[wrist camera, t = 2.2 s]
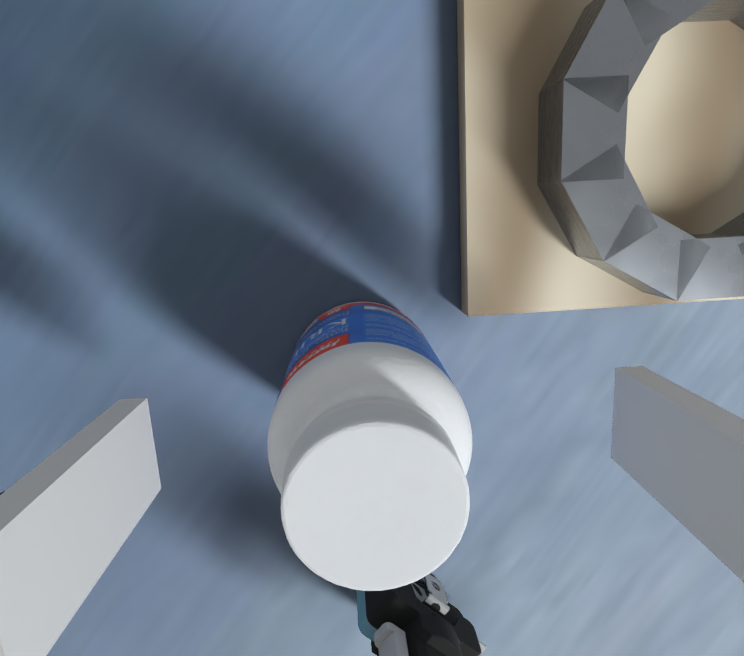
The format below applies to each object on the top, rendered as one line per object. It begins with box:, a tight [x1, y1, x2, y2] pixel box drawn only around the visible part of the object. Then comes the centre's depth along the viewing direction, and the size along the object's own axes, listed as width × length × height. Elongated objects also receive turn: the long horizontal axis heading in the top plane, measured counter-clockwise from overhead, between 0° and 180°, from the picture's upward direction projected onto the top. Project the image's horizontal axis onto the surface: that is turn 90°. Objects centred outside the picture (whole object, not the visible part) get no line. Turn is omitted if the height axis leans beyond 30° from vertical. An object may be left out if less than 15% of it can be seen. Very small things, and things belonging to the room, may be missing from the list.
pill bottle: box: [267, 302, 472, 591], centre depth 15 cm, size 6×5×10 cm
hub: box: [537, 0, 744, 301], centre depth 17 cm, size 11×11×3 cm
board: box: [457, 0, 744, 316], centre depth 18 cm, size 16×12×1 cm
